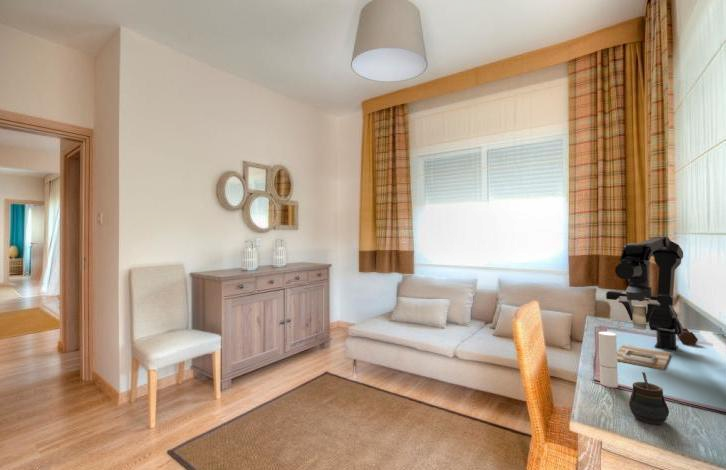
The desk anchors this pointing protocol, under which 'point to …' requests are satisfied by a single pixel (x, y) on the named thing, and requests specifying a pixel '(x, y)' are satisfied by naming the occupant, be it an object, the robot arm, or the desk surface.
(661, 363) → the subfloor panel
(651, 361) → the collar
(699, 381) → the desk surface
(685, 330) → the brown textured oblong piece
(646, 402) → the mate gourd
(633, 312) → the beige rounded cylinder
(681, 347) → the desk surface
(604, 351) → the tube
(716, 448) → the desk surface
